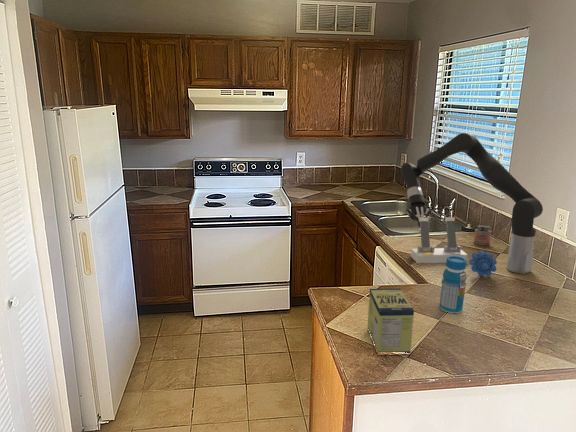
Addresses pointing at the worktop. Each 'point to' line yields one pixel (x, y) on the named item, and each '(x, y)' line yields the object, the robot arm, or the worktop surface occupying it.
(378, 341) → the protein box
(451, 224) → the lever grey
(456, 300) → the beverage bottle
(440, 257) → the console
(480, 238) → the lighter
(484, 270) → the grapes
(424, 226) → the lever amber
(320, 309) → the worktop surface
